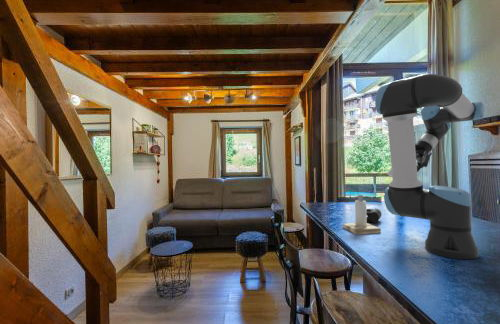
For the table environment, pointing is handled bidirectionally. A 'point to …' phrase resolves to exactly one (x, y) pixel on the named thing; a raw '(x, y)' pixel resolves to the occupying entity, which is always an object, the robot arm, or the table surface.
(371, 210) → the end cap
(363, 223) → the white bottle
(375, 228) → the oak board
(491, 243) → the table surface
